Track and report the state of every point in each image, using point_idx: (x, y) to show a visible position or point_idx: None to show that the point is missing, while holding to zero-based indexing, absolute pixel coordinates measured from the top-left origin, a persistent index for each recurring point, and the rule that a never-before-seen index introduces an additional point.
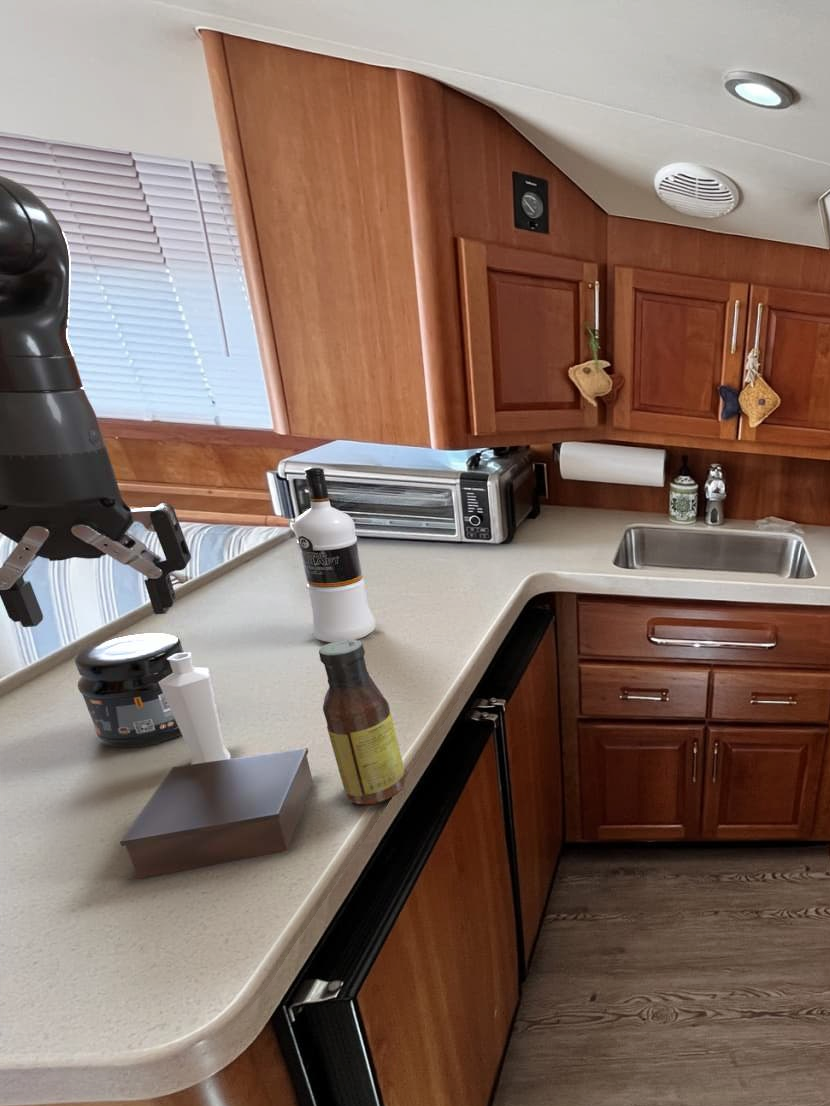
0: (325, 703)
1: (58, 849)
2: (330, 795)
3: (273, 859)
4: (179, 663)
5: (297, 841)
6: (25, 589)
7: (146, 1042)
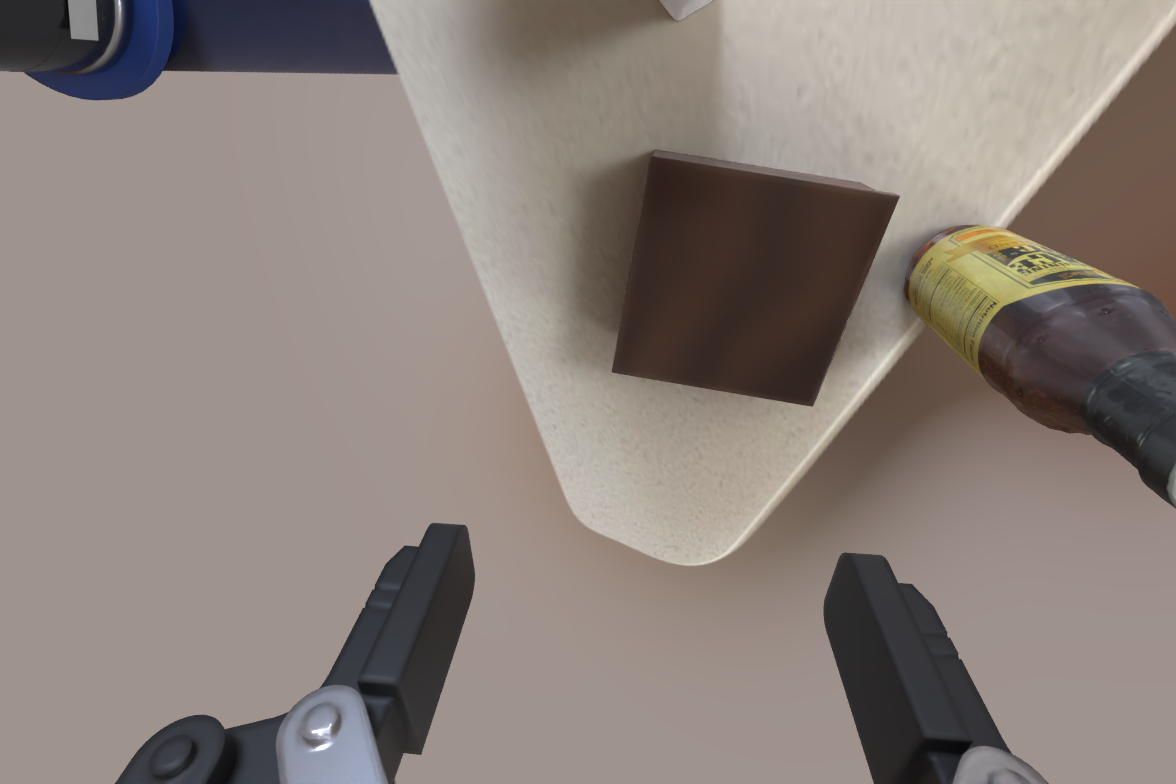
0: (1028, 389)
1: (499, 205)
2: None
3: None
4: None
5: None
6: (420, 708)
7: (666, 556)
